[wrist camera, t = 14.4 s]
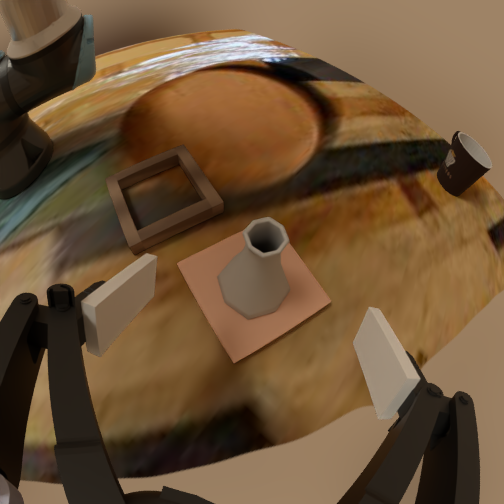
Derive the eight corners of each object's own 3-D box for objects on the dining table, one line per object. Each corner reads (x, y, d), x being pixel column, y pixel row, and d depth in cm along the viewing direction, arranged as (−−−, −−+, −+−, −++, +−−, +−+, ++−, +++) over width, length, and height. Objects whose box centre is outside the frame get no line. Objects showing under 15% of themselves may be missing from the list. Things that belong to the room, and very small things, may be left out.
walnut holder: (109, 188, 34) (105, 178, 32) (184, 154, 38) (183, 144, 36) (134, 255, 30) (129, 247, 28) (223, 211, 34) (223, 202, 32)
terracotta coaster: (178, 267, 30) (176, 263, 29) (268, 222, 33) (270, 217, 32) (233, 363, 26) (234, 363, 25) (327, 304, 29) (331, 301, 28)
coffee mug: (462, 208, 39) (493, 176, 30) (429, 180, 41) (457, 144, 32) (465, 177, 44) (489, 148, 35) (436, 153, 46) (458, 121, 37)
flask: (260, 241, 31) (274, 182, 22) (301, 292, 28) (334, 248, 20) (205, 275, 28) (195, 223, 20) (245, 332, 26) (255, 305, 17)
